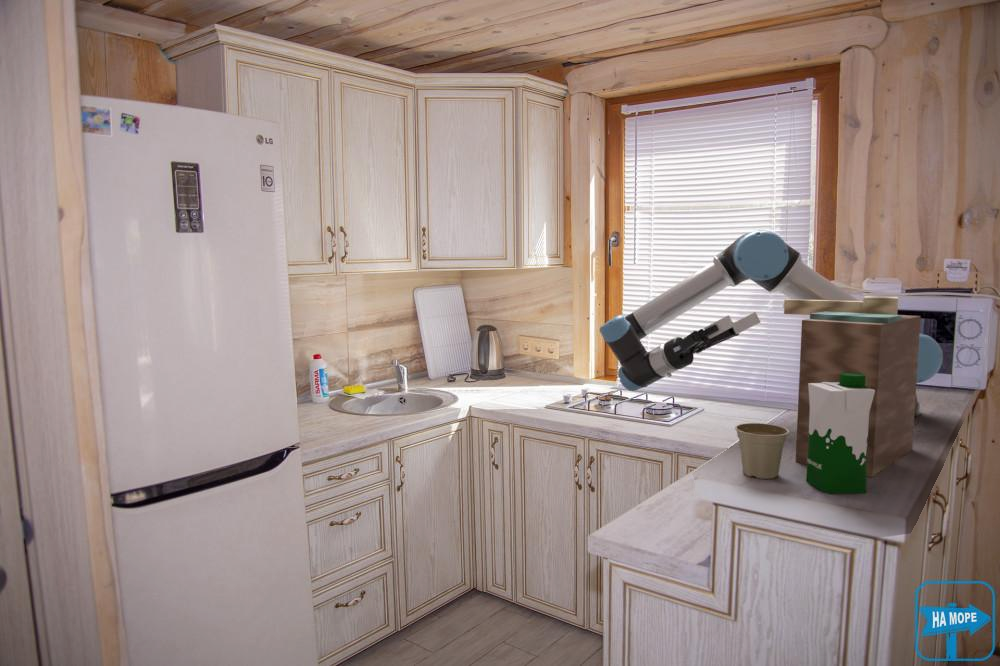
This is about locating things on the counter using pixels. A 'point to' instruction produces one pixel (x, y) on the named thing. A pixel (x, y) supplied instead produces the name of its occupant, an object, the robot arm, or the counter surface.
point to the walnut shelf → (881, 357)
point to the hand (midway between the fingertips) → (744, 318)
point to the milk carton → (839, 434)
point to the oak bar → (843, 306)
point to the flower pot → (761, 448)
